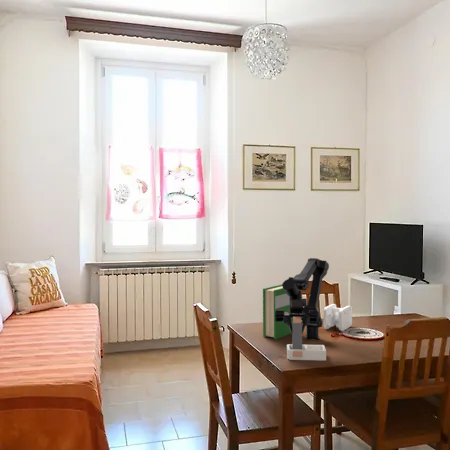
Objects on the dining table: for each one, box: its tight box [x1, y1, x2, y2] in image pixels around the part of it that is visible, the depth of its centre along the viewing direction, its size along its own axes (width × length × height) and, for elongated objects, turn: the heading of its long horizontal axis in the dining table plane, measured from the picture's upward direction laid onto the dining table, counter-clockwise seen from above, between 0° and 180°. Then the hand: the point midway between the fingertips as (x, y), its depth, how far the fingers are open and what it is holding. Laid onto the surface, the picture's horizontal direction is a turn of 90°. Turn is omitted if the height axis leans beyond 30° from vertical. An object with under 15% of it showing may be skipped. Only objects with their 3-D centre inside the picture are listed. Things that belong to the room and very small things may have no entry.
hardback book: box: [262, 283, 293, 340], centre depth 237 cm, size 18×7×24 cm, turn 139°
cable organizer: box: [323, 303, 353, 332], centre depth 248 cm, size 15×11×12 cm
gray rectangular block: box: [291, 317, 303, 349], centre depth 202 cm, size 4×4×13 cm
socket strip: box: [286, 343, 327, 361], centre depth 202 cm, size 9×16×4 cm, turn 84°
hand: (297, 333), depth 200 cm, fingers closed on gray rectangular block, 4 cm apart
